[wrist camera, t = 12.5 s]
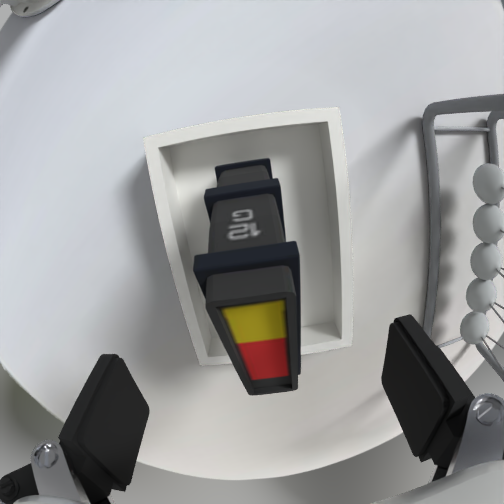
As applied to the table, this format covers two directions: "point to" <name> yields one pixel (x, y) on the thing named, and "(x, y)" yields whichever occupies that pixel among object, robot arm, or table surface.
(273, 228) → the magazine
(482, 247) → the newton's cradle
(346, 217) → the parts tray
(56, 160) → the table surface
